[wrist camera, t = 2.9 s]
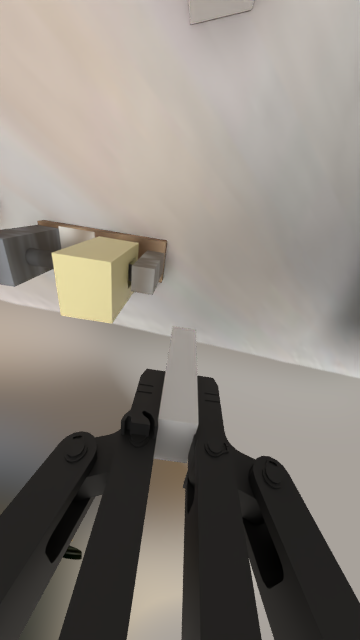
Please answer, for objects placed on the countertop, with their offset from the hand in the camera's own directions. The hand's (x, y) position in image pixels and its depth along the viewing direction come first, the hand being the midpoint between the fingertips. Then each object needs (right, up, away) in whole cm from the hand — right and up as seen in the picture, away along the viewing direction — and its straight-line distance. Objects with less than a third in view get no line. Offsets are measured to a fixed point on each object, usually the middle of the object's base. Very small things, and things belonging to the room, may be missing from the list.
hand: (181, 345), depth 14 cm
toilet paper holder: (-11, +12, +18) cm, 24 cm away
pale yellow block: (-8, +9, +14) cm, 18 cm away
